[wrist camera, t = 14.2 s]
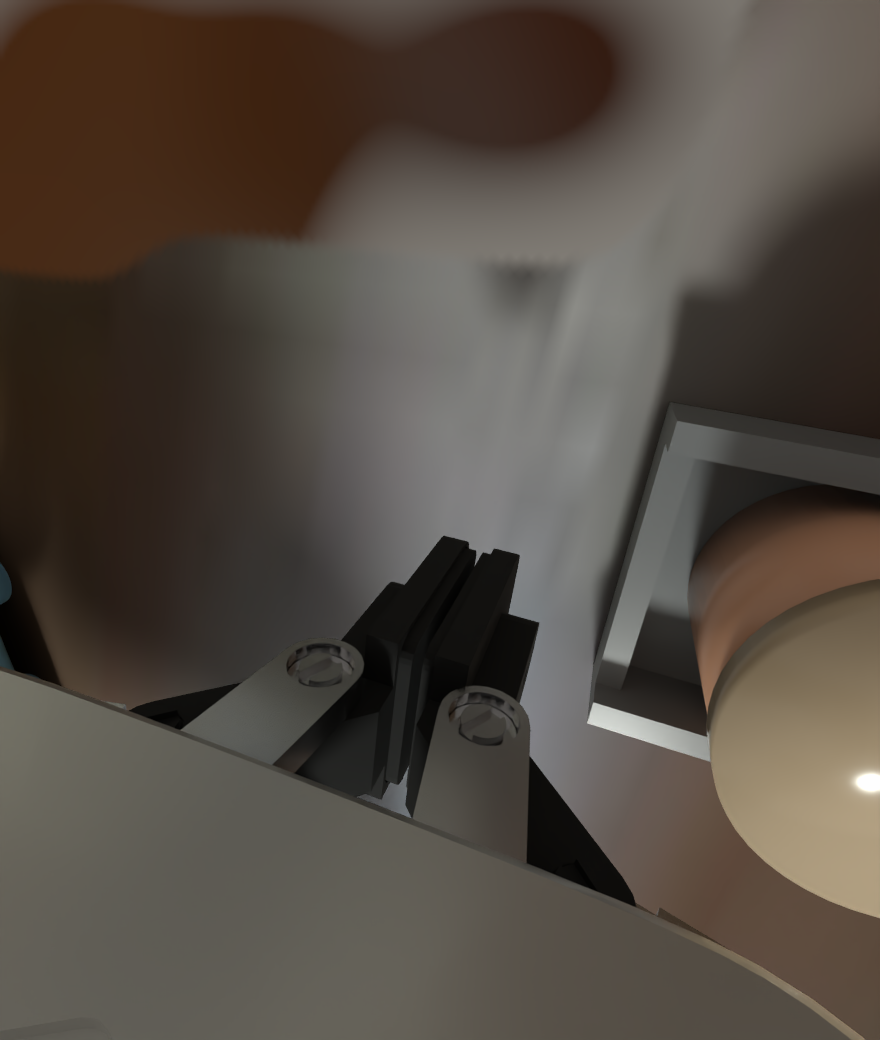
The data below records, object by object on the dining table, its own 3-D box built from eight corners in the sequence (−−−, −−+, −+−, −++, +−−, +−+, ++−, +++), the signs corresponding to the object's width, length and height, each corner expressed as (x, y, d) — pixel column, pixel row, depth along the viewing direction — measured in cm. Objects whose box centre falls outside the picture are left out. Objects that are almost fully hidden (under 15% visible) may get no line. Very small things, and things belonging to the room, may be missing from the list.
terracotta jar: (656, 666, 19) (669, 847, 12) (724, 457, 16) (784, 555, 10) (905, 733, 17) (1065, 982, 11) (1030, 512, 14) (1342, 675, 8)
